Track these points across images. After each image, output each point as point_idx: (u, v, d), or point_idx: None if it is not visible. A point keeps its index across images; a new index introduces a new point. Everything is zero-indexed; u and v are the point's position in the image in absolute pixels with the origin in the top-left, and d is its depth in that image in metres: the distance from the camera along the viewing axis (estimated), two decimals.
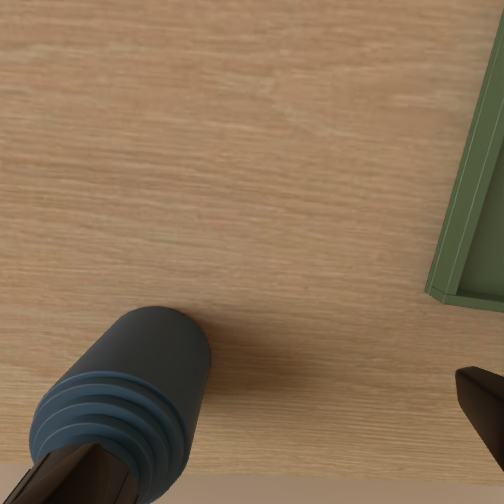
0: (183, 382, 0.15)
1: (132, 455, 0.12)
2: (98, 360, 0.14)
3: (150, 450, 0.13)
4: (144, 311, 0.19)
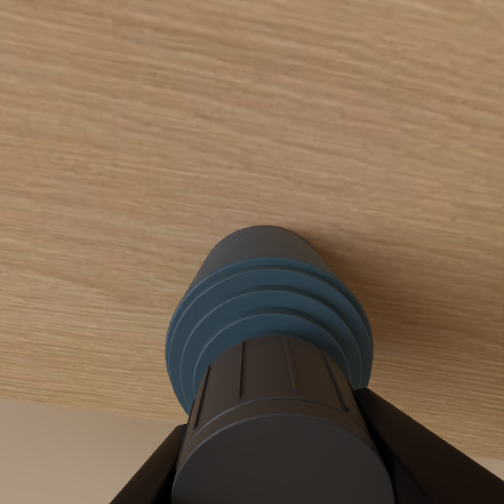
0: None
1: None
2: (260, 251, 0.11)
3: None
4: (263, 227, 0.16)
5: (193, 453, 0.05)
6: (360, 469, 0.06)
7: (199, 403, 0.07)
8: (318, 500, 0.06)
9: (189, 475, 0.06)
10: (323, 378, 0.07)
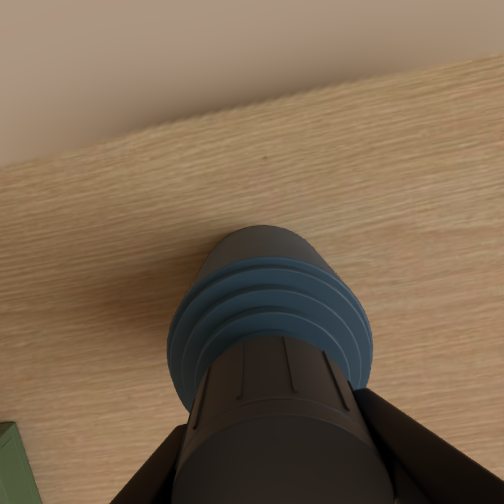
0: None
1: None
2: None
3: None
4: None
5: (193, 453, 0.05)
6: (360, 470, 0.06)
7: (199, 403, 0.07)
8: (318, 500, 0.06)
9: (189, 475, 0.06)
10: (323, 378, 0.07)
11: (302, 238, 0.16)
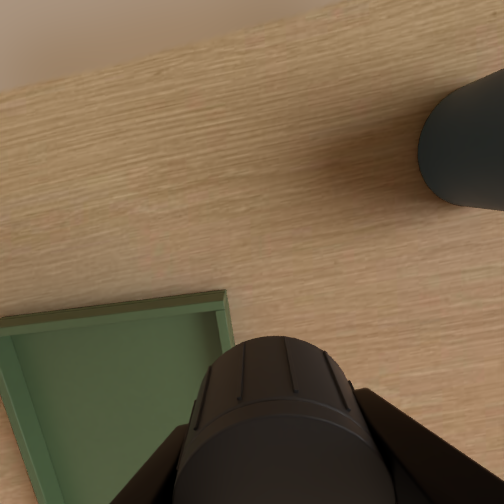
0: (498, 195, 0.14)
1: None
2: None
3: None
4: None
5: (194, 454, 0.05)
6: (361, 470, 0.06)
7: (200, 404, 0.07)
8: (319, 501, 0.06)
9: (190, 476, 0.06)
10: (324, 378, 0.07)
11: None
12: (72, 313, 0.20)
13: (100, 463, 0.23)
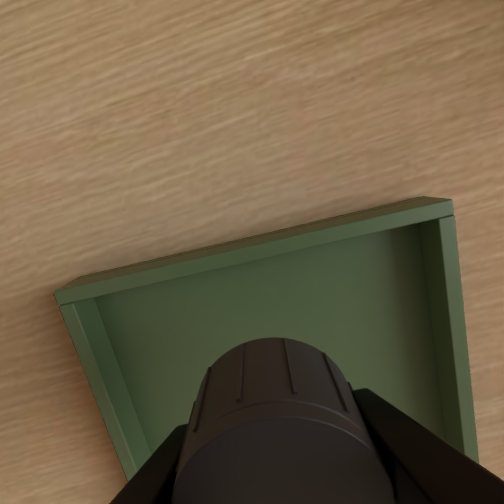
0: None
1: None
2: None
3: None
4: None
5: (193, 456, 0.05)
6: (361, 472, 0.06)
7: (199, 405, 0.07)
8: (319, 503, 0.06)
9: (189, 478, 0.06)
10: (324, 380, 0.07)
11: None
12: (193, 254, 0.13)
13: None
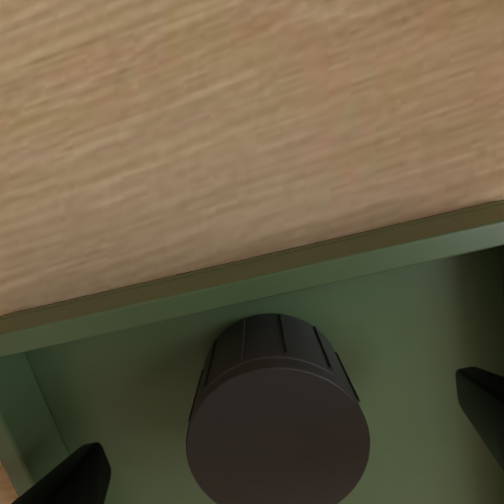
0: None
1: None
2: None
3: None
4: None
5: (204, 401, 0.07)
6: (341, 415, 0.07)
7: (208, 367, 0.08)
8: (307, 442, 0.07)
9: (201, 420, 0.07)
10: (312, 345, 0.08)
11: None
12: (162, 286, 0.09)
13: None
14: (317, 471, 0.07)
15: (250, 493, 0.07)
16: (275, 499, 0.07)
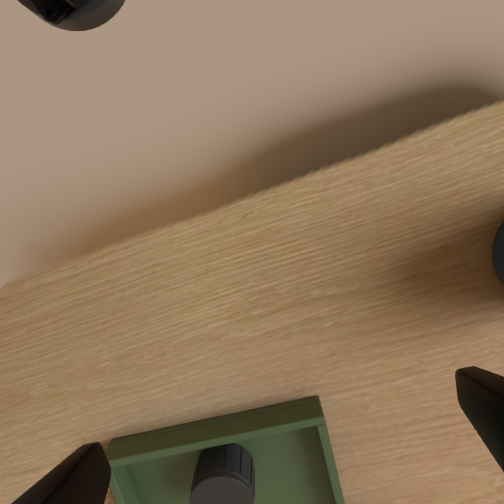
0: None
1: None
2: None
3: None
4: None
5: (196, 487, 0.20)
6: (242, 491, 0.20)
7: (197, 469, 0.21)
8: (231, 500, 0.20)
9: (195, 493, 0.20)
10: (236, 461, 0.21)
11: None
12: (180, 435, 0.22)
13: None
14: None
15: None
16: None
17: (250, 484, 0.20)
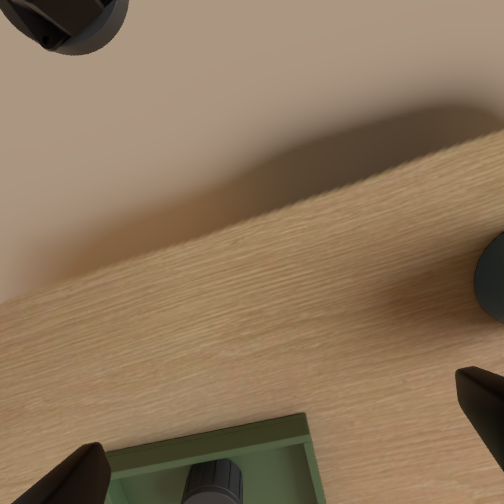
0: None
1: None
2: None
3: None
4: None
5: (185, 501, 0.21)
6: None
7: (188, 483, 0.22)
8: None
9: None
10: (225, 476, 0.22)
11: None
12: (171, 449, 0.22)
13: None
14: None
15: None
16: None
17: (238, 498, 0.21)
